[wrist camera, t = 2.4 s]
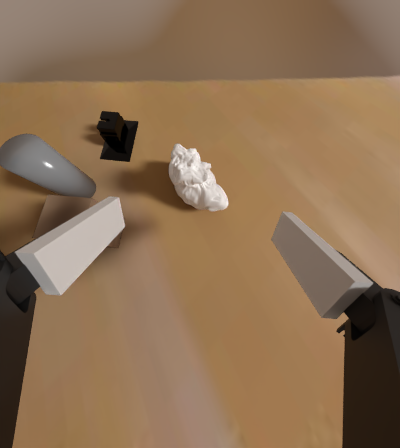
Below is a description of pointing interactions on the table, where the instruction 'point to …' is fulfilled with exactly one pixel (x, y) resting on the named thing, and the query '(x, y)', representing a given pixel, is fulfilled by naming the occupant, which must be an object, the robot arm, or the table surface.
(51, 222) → the walnut block
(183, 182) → the bust
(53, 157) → the grey rounded cylinder
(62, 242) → the robot arm
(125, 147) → the notched block on base
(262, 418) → the table surface
